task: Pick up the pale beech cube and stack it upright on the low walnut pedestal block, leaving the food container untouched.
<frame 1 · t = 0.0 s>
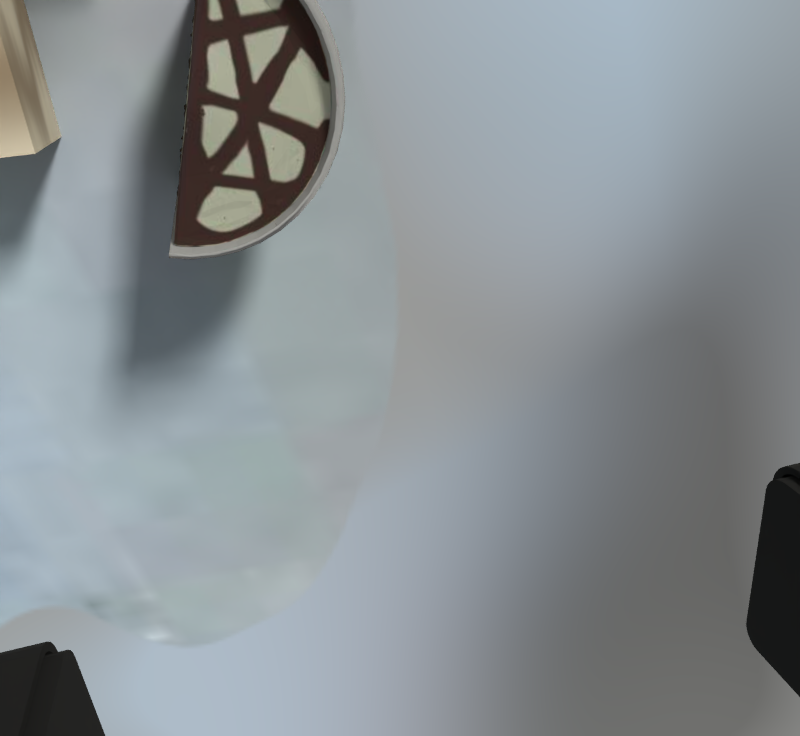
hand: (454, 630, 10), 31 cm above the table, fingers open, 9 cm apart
food container: (252, 99, 36), on the table
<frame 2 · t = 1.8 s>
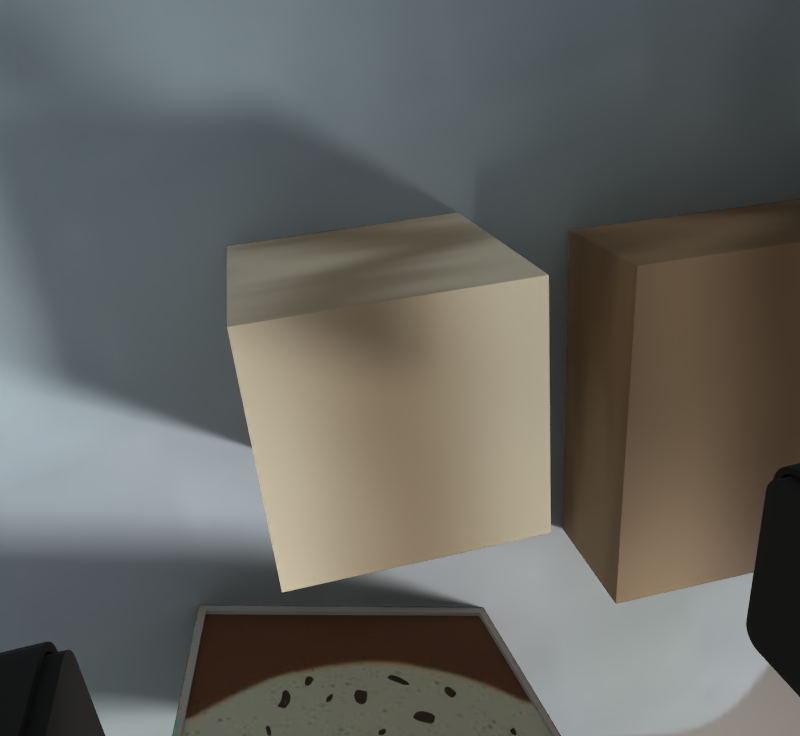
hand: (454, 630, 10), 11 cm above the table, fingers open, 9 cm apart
beech cube: (358, 336, 20), on the table
pedestal: (708, 363, 23), on the table
food container: (332, 675, 25), on the table
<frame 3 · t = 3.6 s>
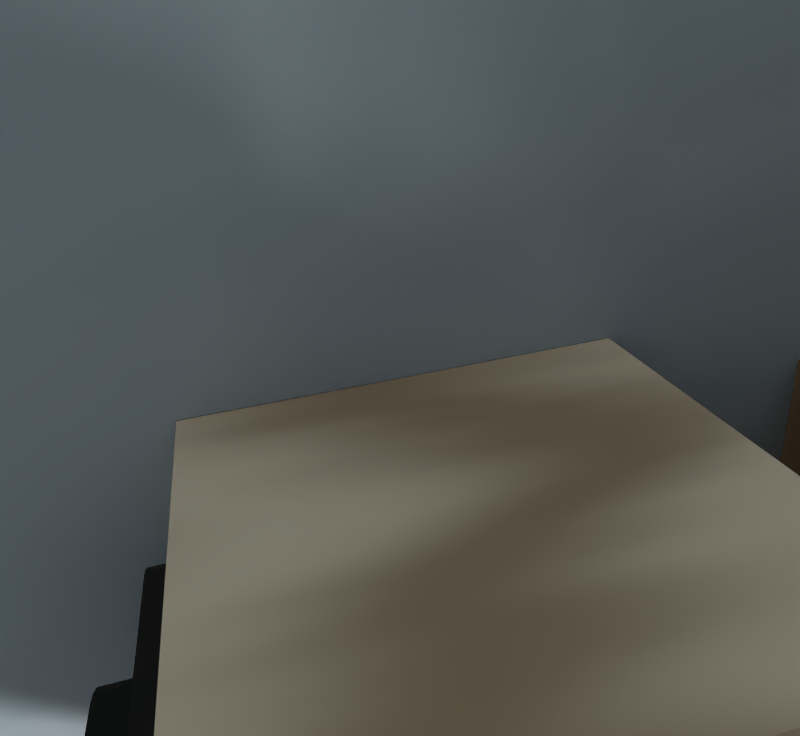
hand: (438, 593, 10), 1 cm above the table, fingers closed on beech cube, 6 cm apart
beech cube: (421, 554, 11), on the table, touching gripper
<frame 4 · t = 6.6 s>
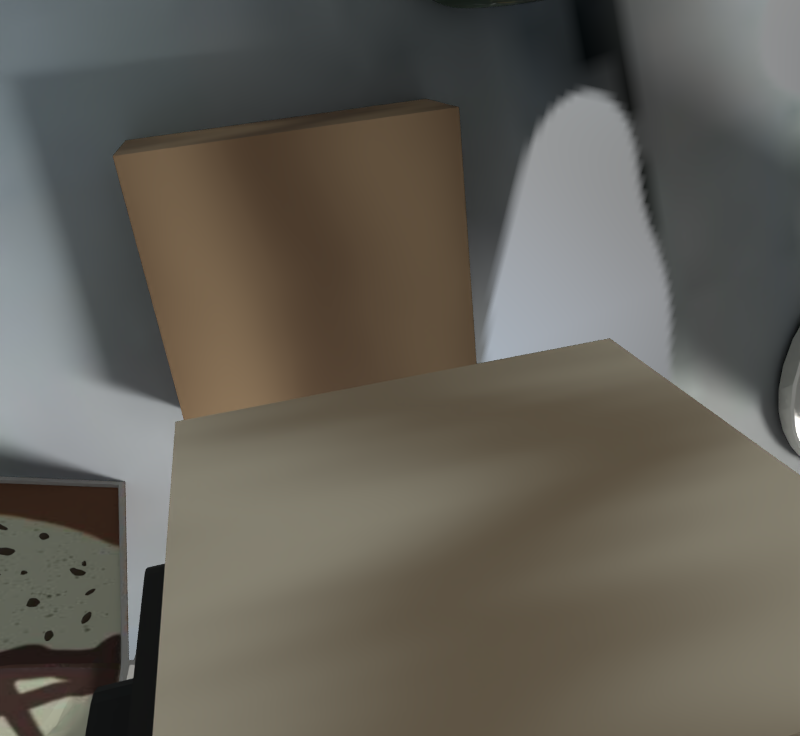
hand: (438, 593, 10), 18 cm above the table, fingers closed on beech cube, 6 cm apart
beech cube: (422, 555, 11), point 17 cm above the table, touching gripper
pedestal: (304, 261, 27), on the table
when the fingers open (6 cm above the table, at t = 9.4 s): beech cube drops 2 cm, resting on pedestal.
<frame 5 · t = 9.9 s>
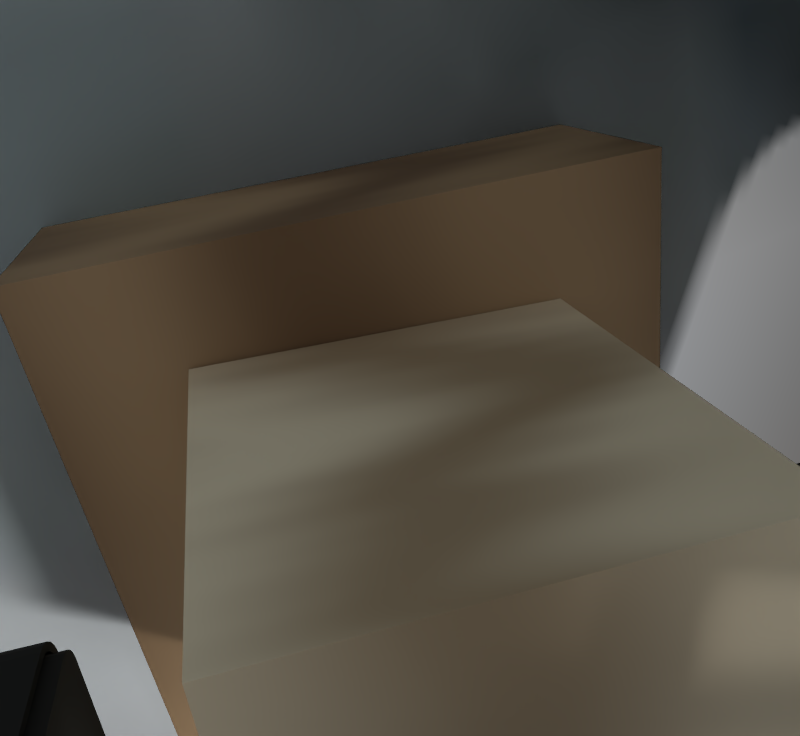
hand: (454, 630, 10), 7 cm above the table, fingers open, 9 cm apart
beech cube: (402, 490, 13), point 4 cm above the table, touching pedestal
pedestal: (357, 394, 16), on the table, touching beech cube
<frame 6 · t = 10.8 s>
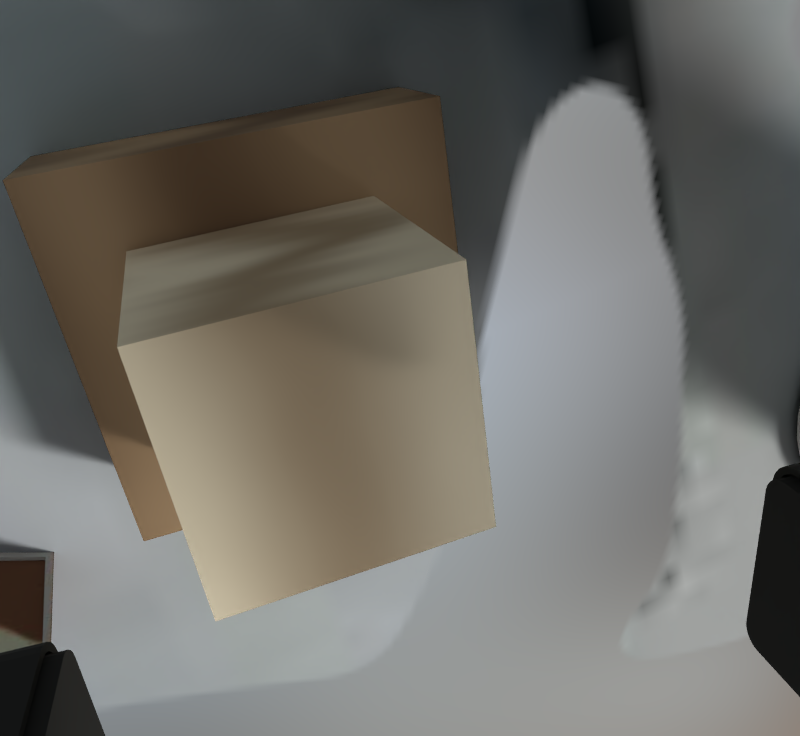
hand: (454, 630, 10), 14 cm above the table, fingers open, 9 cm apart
beech cube: (282, 335, 19), point 4 cm above the table
pedestal: (263, 287, 22), on the table
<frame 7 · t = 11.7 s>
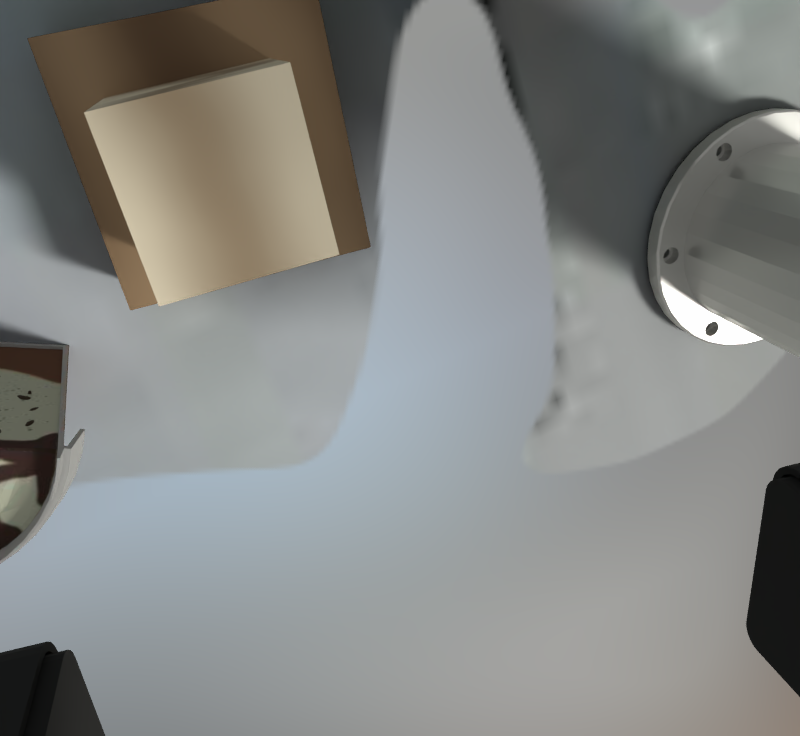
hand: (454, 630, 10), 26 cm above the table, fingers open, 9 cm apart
beech cube: (214, 161, 27), point 4 cm above the table, touching pedestal
pedestal: (213, 142, 31), on the table, touching beech cube
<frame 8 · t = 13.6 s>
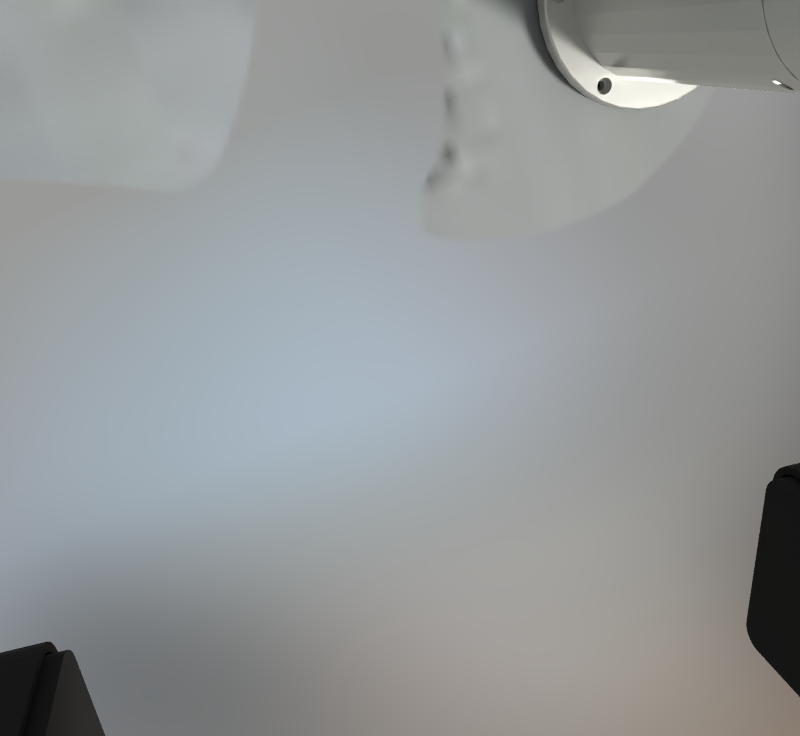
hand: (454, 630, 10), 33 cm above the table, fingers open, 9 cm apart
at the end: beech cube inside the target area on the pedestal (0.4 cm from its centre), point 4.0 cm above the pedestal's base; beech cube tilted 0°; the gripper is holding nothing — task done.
